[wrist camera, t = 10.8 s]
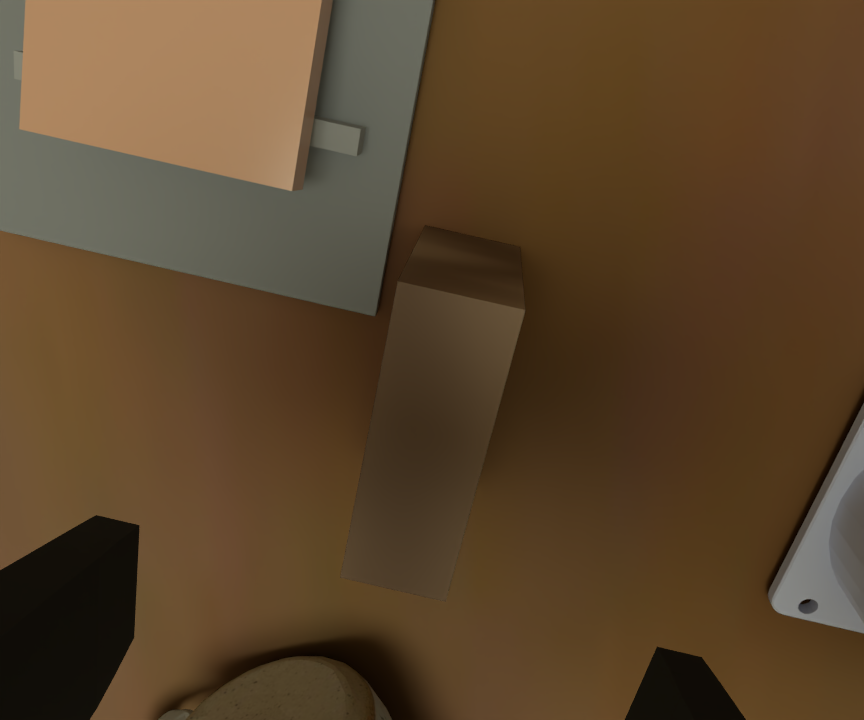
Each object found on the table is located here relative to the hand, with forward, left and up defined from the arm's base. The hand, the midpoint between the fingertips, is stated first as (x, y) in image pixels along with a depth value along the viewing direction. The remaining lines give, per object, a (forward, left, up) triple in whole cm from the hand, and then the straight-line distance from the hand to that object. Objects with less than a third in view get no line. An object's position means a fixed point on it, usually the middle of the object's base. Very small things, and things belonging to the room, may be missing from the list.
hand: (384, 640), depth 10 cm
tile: (+7, -4, -8) cm, 11 cm away
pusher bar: (0, 0, -10) cm, 10 cm away
